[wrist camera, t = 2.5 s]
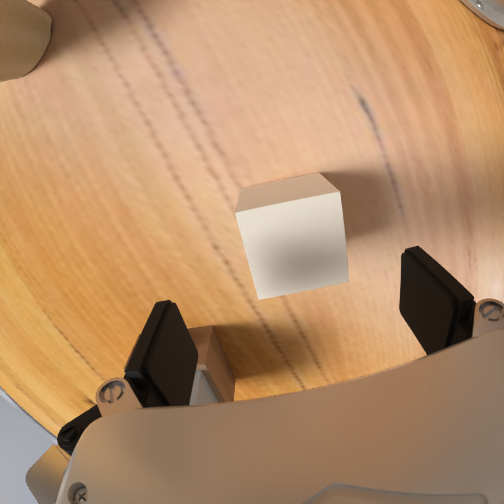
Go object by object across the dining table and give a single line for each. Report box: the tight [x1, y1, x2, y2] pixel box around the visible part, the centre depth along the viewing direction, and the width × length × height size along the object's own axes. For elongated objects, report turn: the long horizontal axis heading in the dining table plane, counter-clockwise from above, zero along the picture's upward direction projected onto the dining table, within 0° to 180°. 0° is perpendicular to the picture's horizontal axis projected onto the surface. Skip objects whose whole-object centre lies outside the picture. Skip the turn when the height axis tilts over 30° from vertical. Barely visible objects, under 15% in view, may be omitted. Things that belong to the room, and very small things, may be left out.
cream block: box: [235, 173, 349, 300], centre depth 16 cm, size 5×5×5 cm
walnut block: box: [124, 326, 235, 403], centre depth 23 cm, size 7×7×4 cm
